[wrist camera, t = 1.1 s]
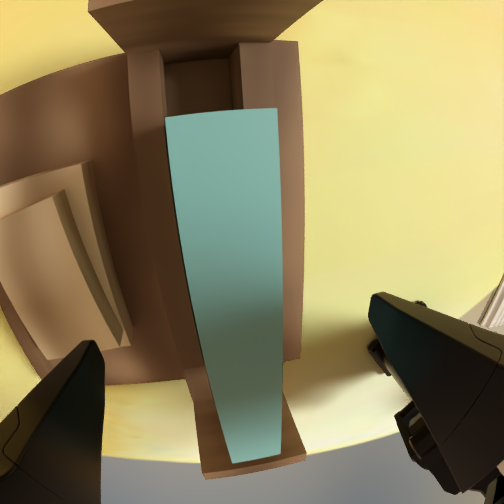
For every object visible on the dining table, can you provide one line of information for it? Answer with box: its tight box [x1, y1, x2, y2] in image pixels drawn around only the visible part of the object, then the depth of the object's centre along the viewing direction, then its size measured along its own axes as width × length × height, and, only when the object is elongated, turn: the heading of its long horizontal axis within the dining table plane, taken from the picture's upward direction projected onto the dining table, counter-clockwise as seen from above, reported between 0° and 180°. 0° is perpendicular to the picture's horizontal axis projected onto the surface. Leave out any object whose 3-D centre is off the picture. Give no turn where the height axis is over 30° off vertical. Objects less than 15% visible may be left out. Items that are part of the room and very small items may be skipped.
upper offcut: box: [0, 189, 123, 360], centre depth 12 cm, size 5×8×1 cm, turn 11°
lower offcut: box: [0, 160, 134, 347], centre depth 13 cm, size 6×10×2 cm, turn 4°
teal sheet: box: [165, 108, 283, 463], centre depth 11 cm, size 2×12×9 cm, turn 4°
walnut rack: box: [0, 0, 323, 479], centre depth 12 cm, size 18×20×9 cm
